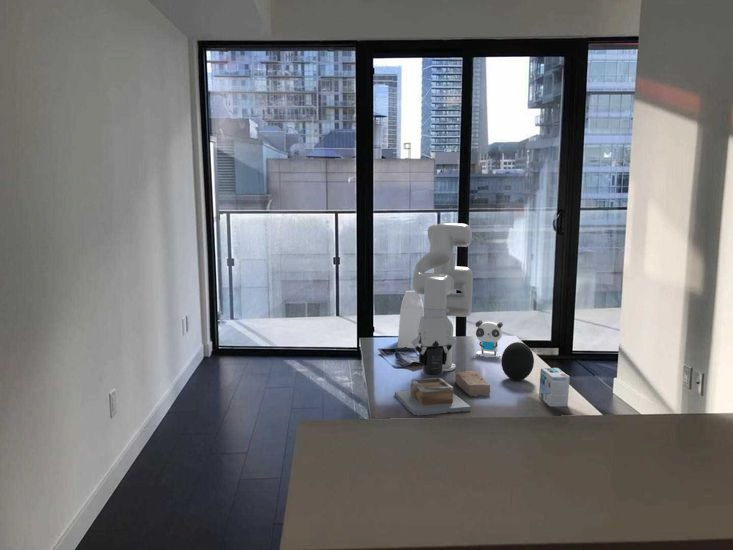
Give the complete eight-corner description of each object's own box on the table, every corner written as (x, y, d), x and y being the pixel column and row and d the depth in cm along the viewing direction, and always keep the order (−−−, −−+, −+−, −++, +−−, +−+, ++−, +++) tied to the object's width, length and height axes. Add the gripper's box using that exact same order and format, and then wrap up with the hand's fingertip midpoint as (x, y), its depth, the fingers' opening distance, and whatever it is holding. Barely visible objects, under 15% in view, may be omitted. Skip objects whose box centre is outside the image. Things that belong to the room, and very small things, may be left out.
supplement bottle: (444, 371, 208) (445, 337, 206) (440, 376, 202) (441, 341, 200) (424, 369, 210) (426, 335, 209) (420, 374, 204) (421, 339, 202)
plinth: (410, 394, 211) (411, 379, 210) (439, 392, 214) (440, 377, 213) (422, 405, 200) (422, 389, 200) (452, 402, 204) (453, 387, 203)
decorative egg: (496, 375, 241) (498, 338, 239) (526, 374, 242) (528, 338, 240) (506, 384, 229) (508, 346, 227) (537, 384, 230) (539, 346, 228)
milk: (423, 342, 292) (425, 289, 288) (423, 348, 280) (425, 293, 277) (398, 341, 293) (400, 288, 289) (397, 347, 281) (399, 292, 278)
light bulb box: (538, 396, 217) (540, 367, 215) (556, 396, 217) (558, 367, 216) (549, 406, 206) (551, 376, 205) (568, 406, 207) (570, 376, 205)
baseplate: (394, 395, 214) (394, 391, 214) (446, 391, 220) (446, 387, 220) (414, 415, 195) (414, 411, 195) (470, 410, 201) (470, 406, 201)
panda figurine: (472, 355, 270) (473, 322, 268) (478, 349, 280) (479, 318, 278) (498, 358, 265) (500, 325, 263) (503, 352, 275) (505, 320, 273)
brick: (491, 396, 217) (491, 383, 216) (468, 397, 215) (469, 384, 215) (475, 382, 233) (475, 370, 232) (454, 382, 231) (455, 371, 231)
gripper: (453, 310, 209) (451, 359, 212) (406, 311, 204) (405, 362, 207) (462, 314, 202) (460, 365, 204) (414, 316, 197) (412, 368, 200)
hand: (432, 363), depth 205 cm, fingers closed on supplement bottle, 6 cm apart
